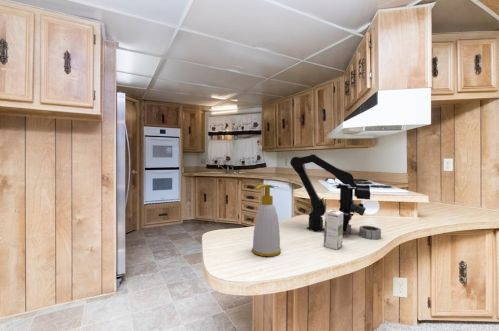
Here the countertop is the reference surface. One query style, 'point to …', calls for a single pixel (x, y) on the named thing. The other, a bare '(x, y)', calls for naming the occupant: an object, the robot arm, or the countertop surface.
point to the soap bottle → (266, 226)
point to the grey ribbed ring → (370, 232)
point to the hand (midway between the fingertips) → (345, 229)
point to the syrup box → (333, 229)
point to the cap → (347, 230)
